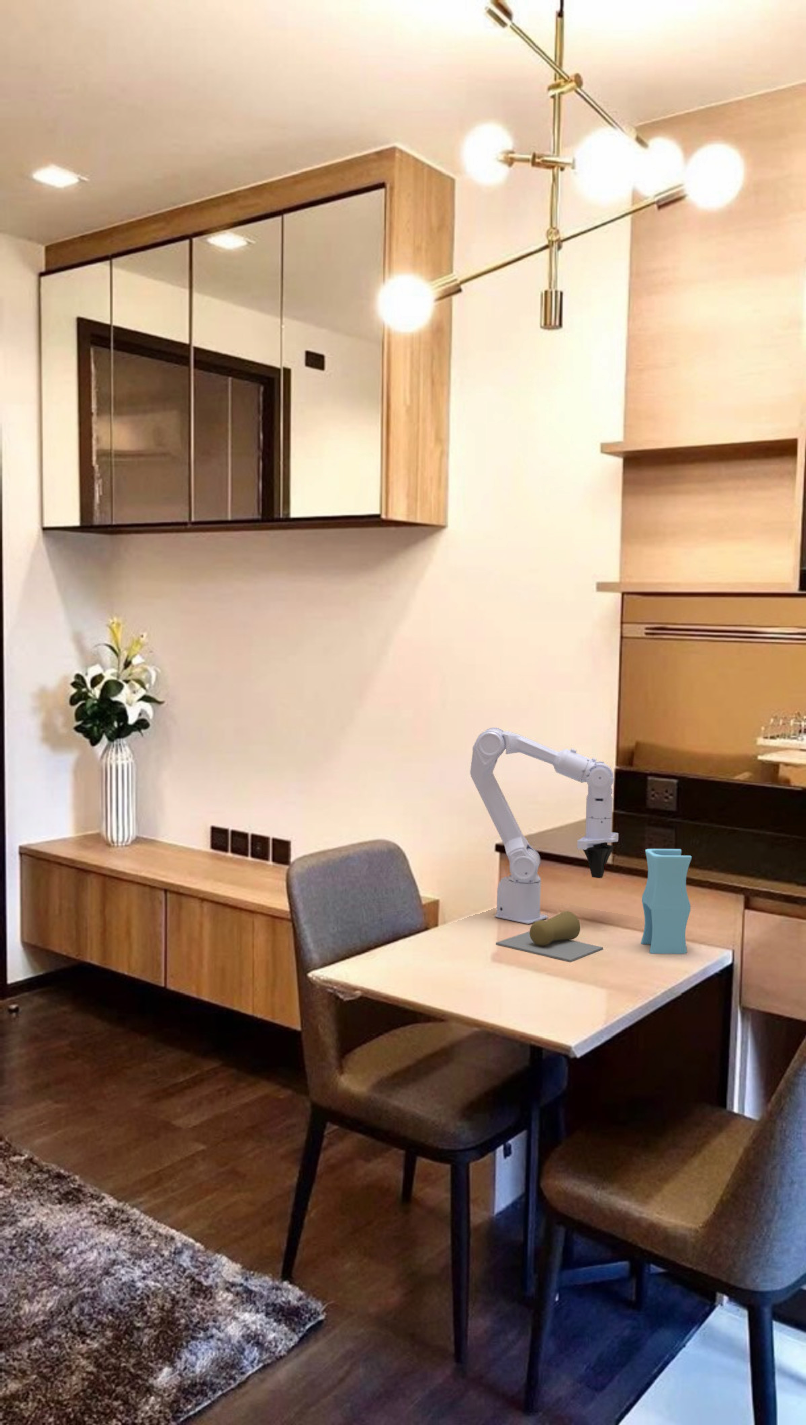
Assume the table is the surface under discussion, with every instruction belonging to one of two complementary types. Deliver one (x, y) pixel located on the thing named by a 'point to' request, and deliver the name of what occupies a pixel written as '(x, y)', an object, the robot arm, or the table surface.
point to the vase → (666, 901)
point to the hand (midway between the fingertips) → (597, 877)
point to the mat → (551, 947)
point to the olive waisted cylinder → (555, 929)
